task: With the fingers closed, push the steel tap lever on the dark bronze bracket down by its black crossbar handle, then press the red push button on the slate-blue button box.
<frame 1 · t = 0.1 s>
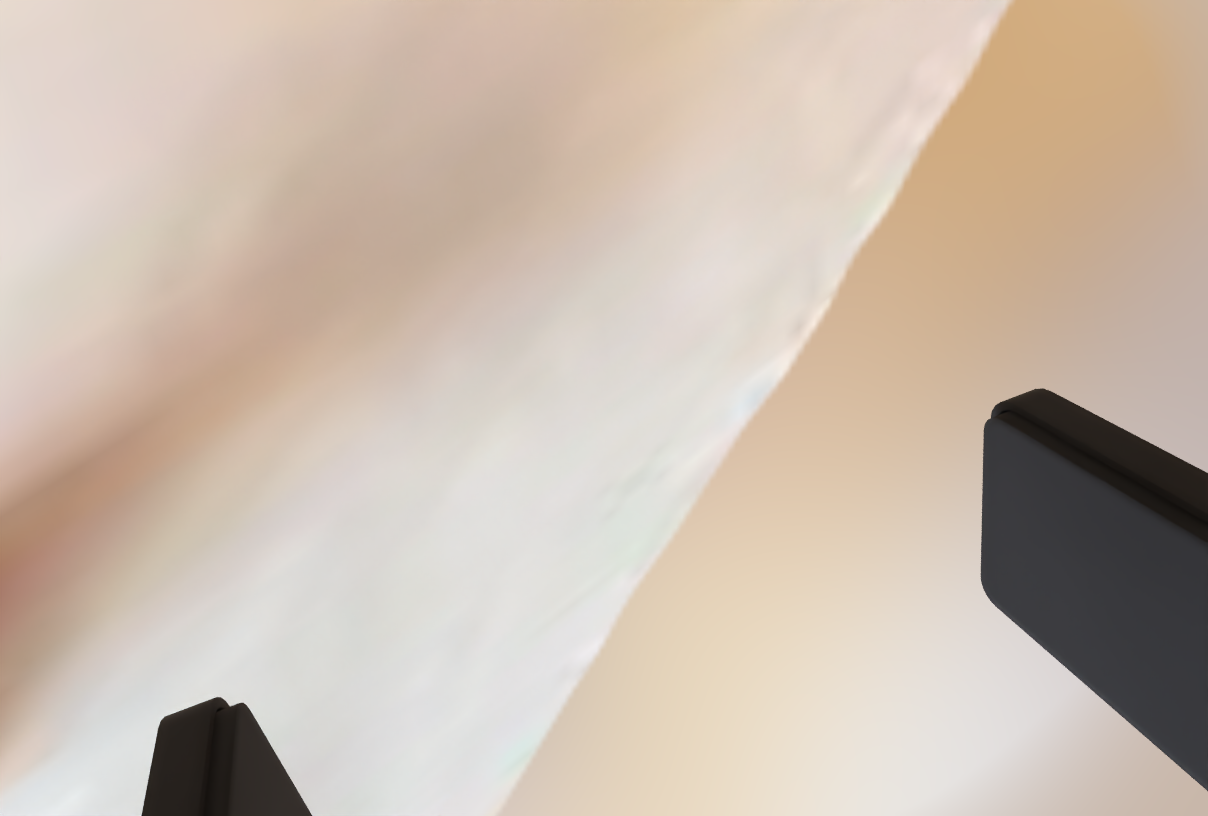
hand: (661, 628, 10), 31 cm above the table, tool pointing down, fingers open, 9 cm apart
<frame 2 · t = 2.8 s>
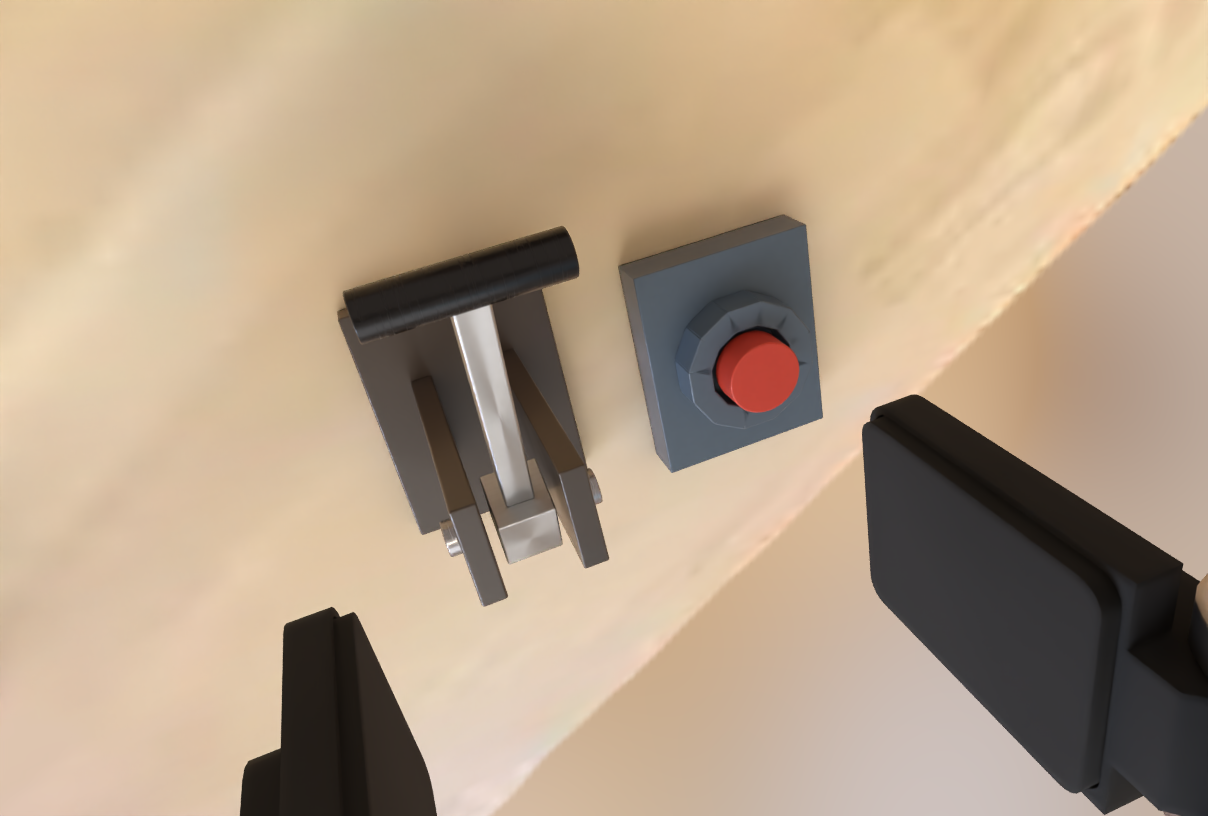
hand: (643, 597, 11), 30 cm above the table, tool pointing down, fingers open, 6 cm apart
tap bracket: (470, 394, 41), on the table
red push button: (757, 371, 41), point 4 cm above the table, slide at 0.1 cm
button box: (717, 339, 44), on the table
tap lever: (499, 424, 27), point 13 cm above the table, hinge at 25.0°
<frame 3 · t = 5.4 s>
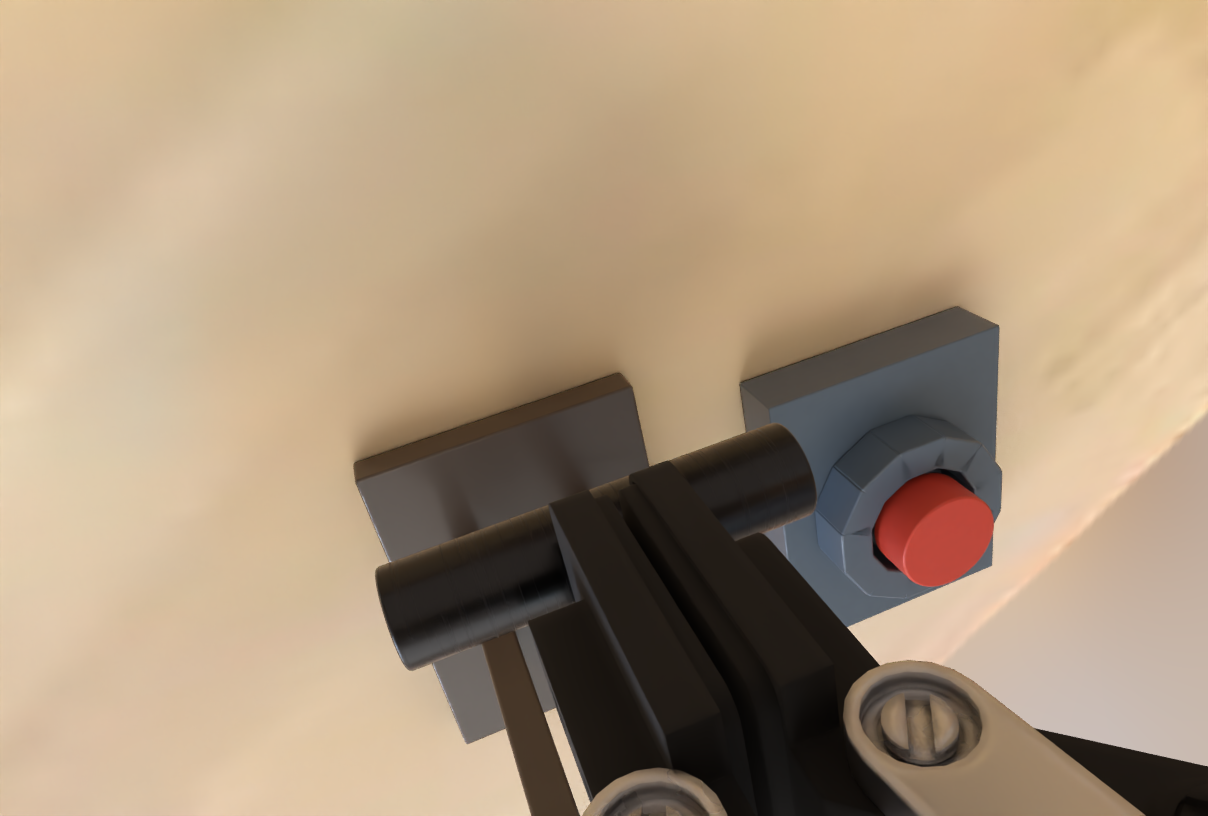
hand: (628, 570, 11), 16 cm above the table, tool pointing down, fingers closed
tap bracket: (535, 558, 30), on the table
red push button: (933, 529, 29), point 4 cm above the table, slide at 0.1 cm
button box: (859, 468, 33), on the table
tap lever: (630, 721, 17), point 13 cm above the table, hinge at 18.8°
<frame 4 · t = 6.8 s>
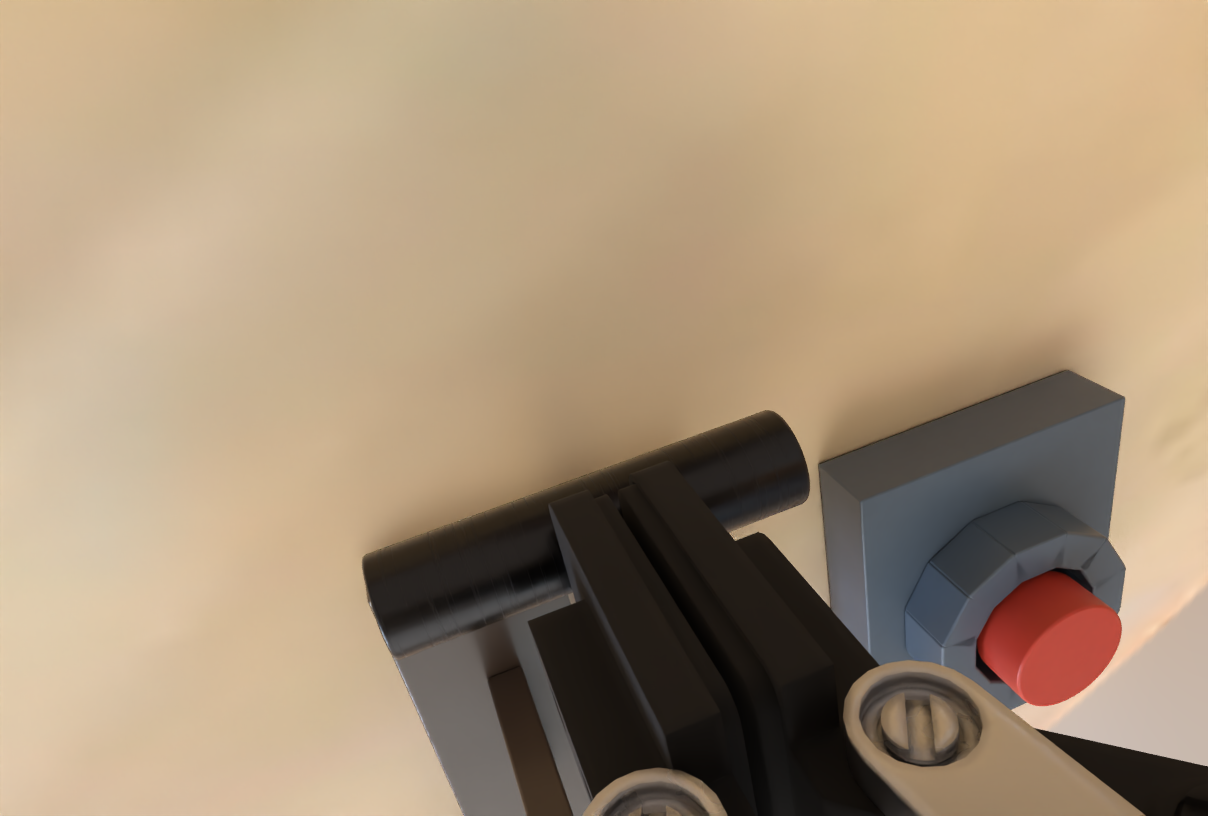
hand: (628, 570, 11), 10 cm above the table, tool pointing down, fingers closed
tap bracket: (576, 669, 26), on the table
red push button: (1047, 638, 25), point 4 cm above the table, slide at 0.1 cm
button box: (946, 552, 29), on the table
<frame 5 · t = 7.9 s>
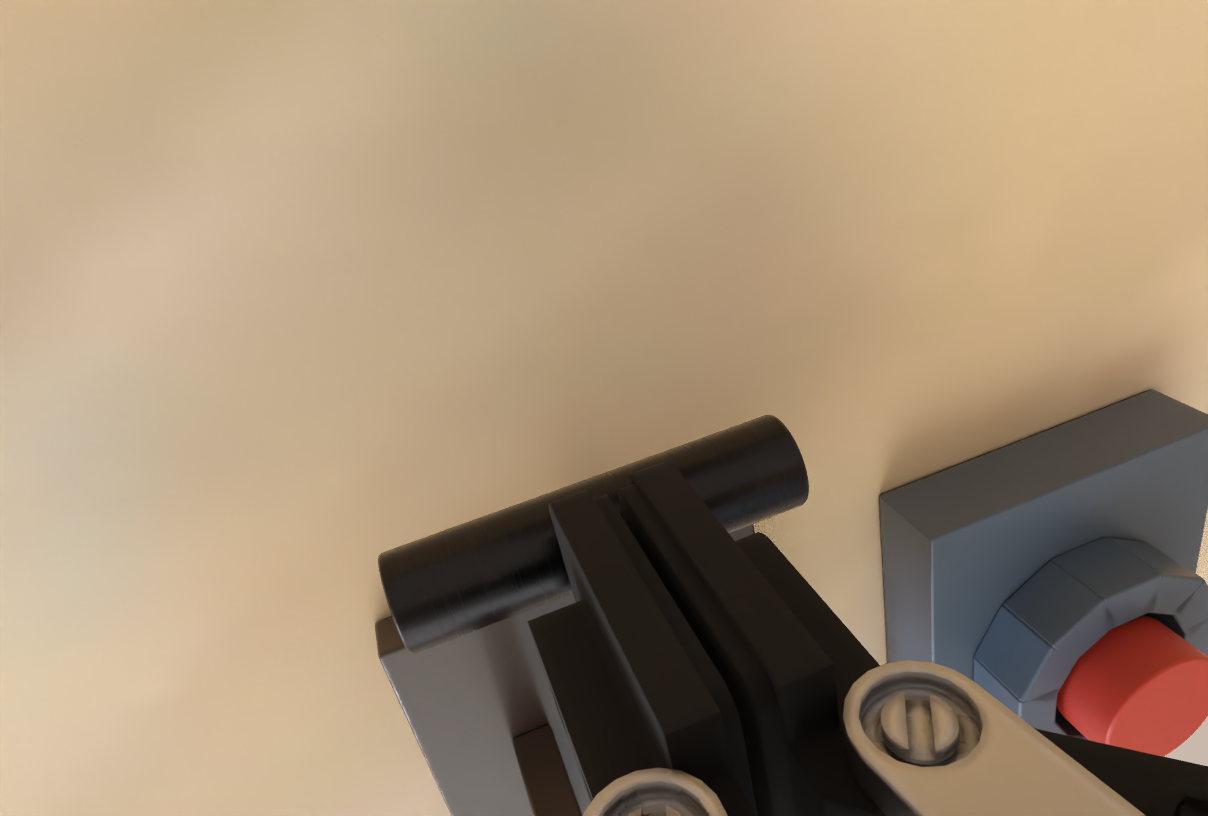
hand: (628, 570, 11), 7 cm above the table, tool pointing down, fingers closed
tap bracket: (608, 722, 23), on the table
red push button: (1136, 690, 22), point 4 cm above the table, slide at 0.1 cm
button box: (1013, 588, 26), on the table
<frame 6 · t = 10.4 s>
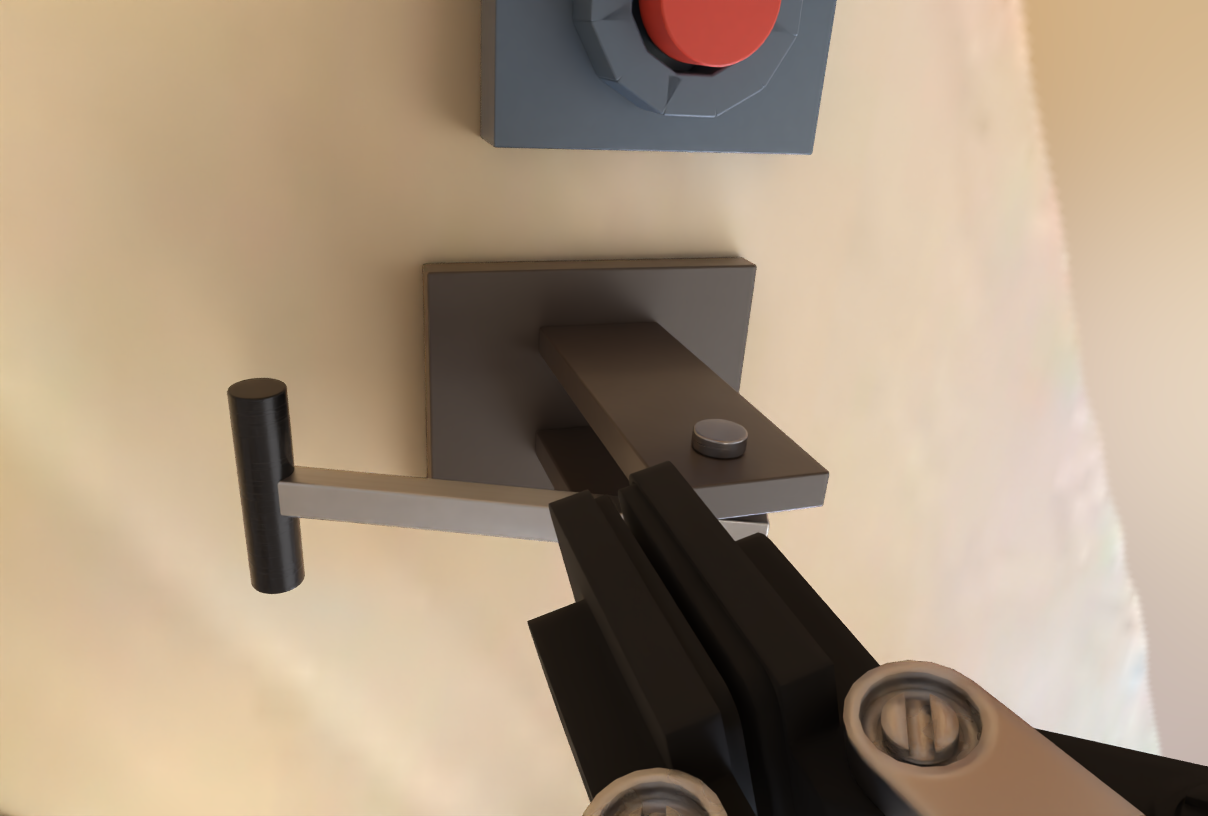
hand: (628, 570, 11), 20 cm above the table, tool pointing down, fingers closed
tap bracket: (585, 376, 32), on the table
tap lever: (497, 510, 23), point 9 cm above the table, hinge at -22.6°
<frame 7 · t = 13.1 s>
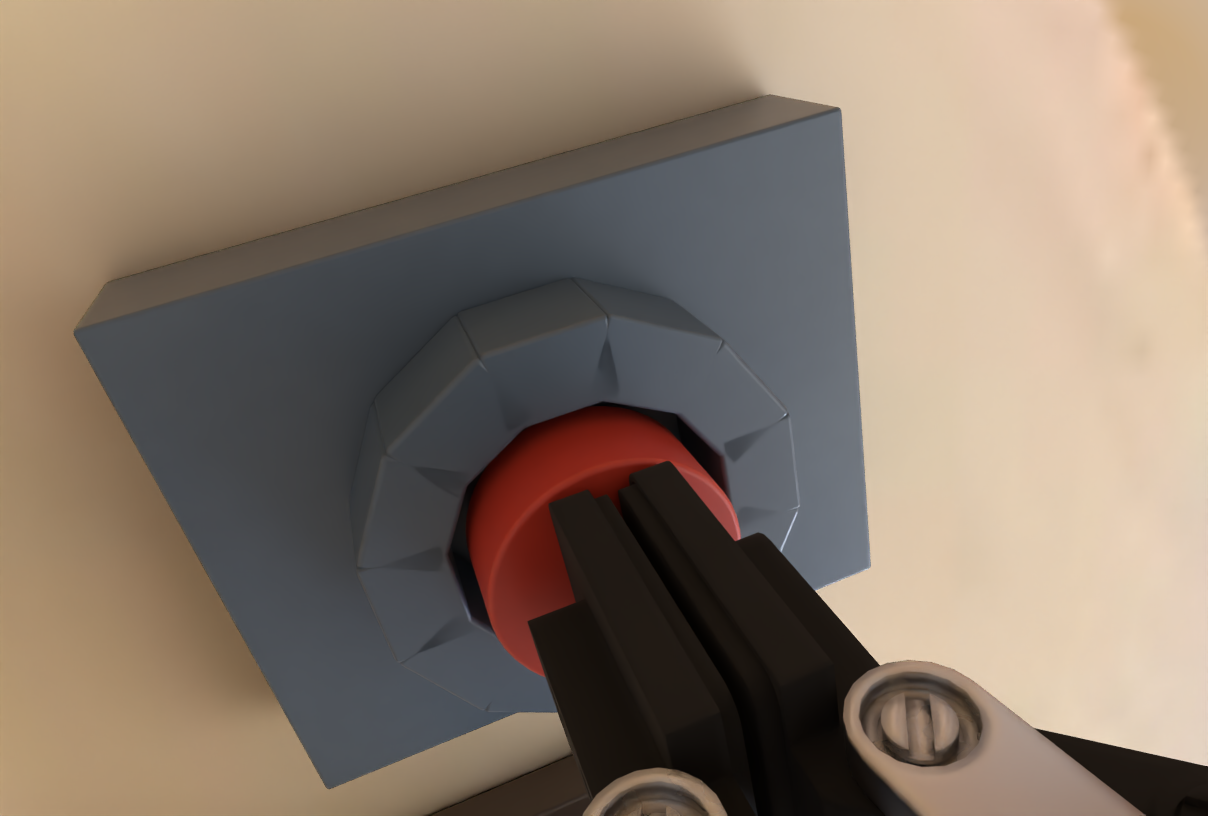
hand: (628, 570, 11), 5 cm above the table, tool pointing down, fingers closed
red push button: (601, 544, 12), point 4 cm above the table, slide at -0.2 cm, touching gripper
button box: (531, 420, 16), on the table
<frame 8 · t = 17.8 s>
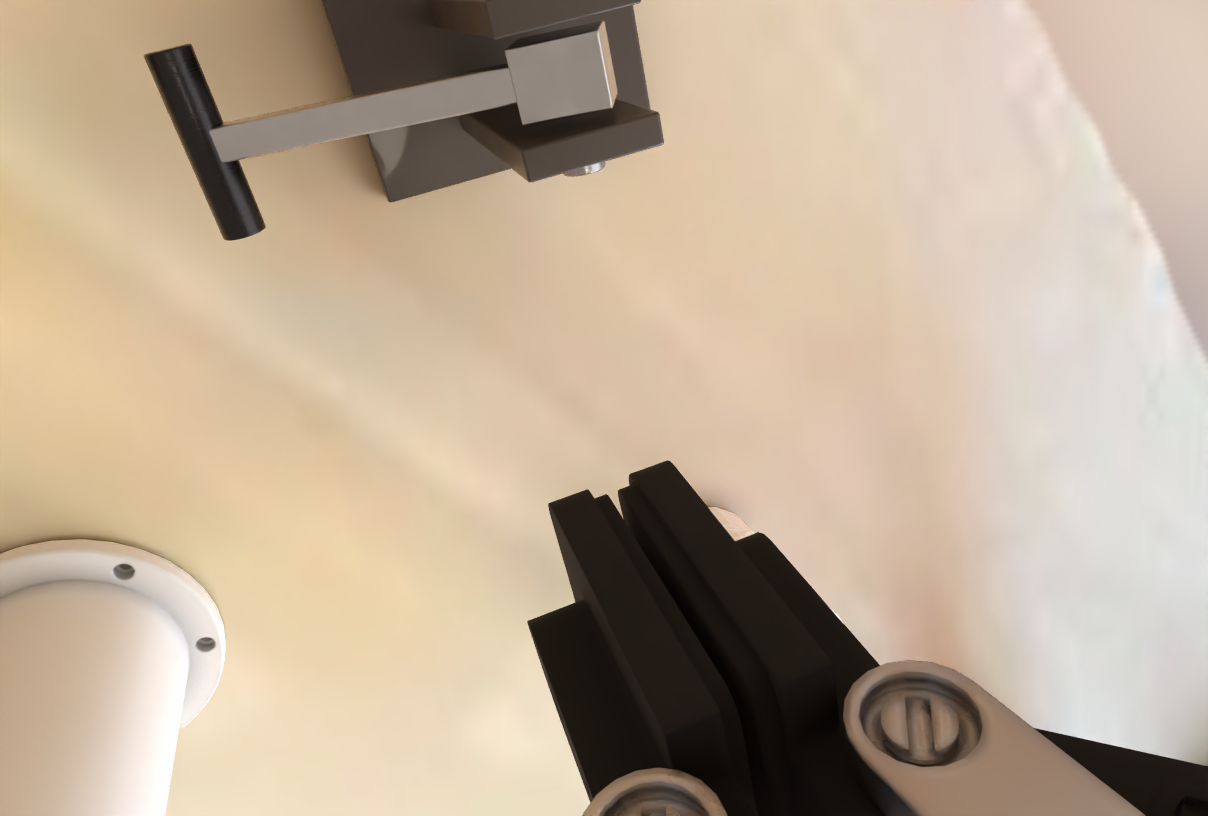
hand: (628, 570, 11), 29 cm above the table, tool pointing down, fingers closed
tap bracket: (492, 52, 35), on the table
white cup: (694, 552, 50), on the table
tap lever: (389, 108, 27), point 9 cm above the table, hinge at -22.6°
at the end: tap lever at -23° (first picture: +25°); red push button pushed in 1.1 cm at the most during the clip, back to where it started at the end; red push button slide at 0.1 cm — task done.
